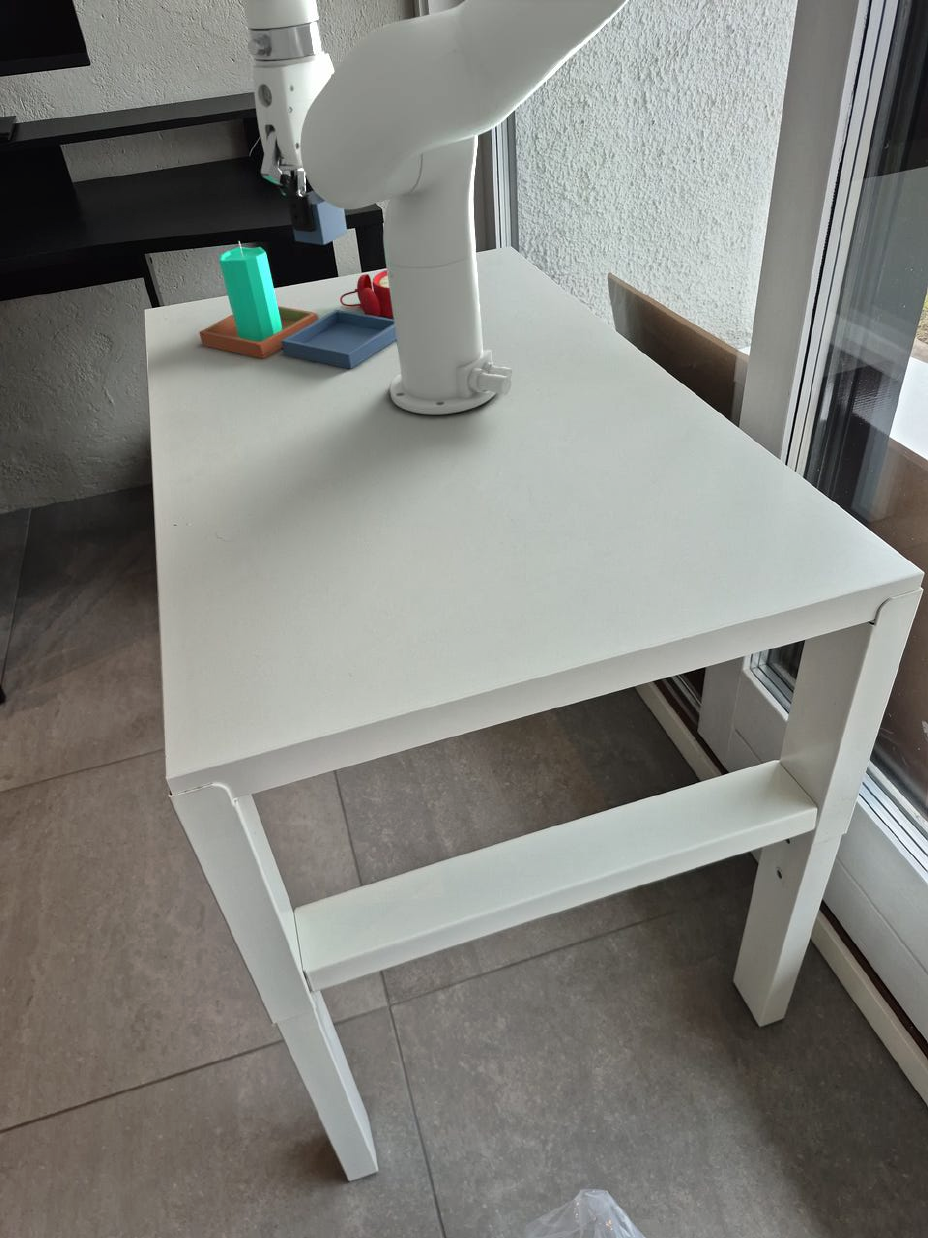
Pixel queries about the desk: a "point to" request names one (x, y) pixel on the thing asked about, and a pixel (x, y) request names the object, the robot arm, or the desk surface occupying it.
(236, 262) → the candle
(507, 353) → the desk surface
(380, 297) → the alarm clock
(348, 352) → the blue tray
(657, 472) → the desk surface
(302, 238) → the blue block
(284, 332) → the terracotta tray
